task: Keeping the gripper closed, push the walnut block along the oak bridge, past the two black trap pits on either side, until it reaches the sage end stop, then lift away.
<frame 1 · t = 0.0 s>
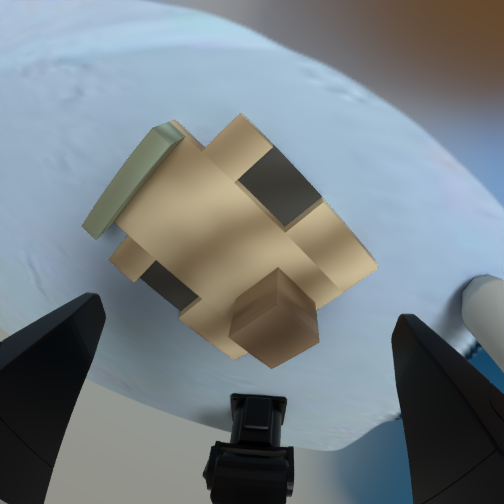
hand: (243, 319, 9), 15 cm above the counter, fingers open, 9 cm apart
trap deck: (232, 252, 25), on the counter
walnut block: (275, 300, 25), point 1 cm above the counter, touching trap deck
salt shaker: (476, 290, 25), on the counter
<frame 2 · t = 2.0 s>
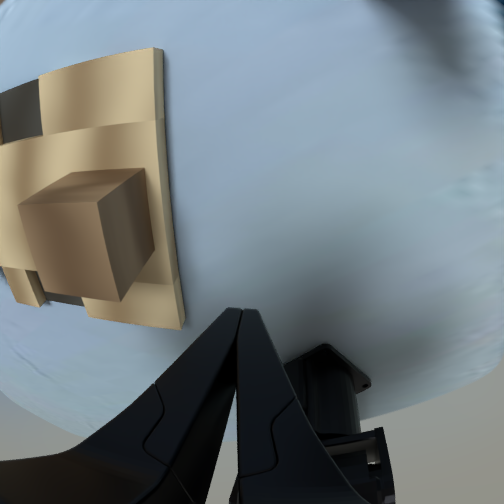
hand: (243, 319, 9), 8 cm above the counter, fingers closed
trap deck: (55, 203, 17), on the counter
walnut block: (111, 210, 15), point 1 cm above the counter, touching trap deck
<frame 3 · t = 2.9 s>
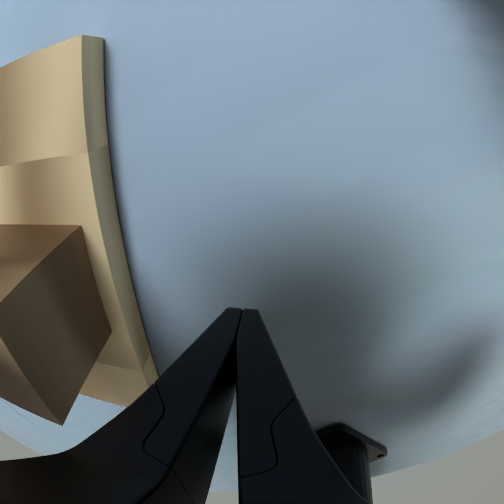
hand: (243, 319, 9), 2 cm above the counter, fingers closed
walnut block: (50, 278, 10), point 1 cm above the counter, touching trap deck
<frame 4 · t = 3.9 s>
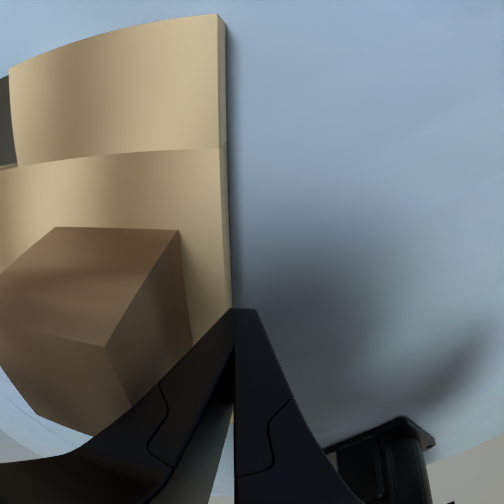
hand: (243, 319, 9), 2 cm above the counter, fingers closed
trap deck: (47, 262, 11), on the counter
walnut block: (122, 288, 10), point 1 cm above the counter, touching gripper
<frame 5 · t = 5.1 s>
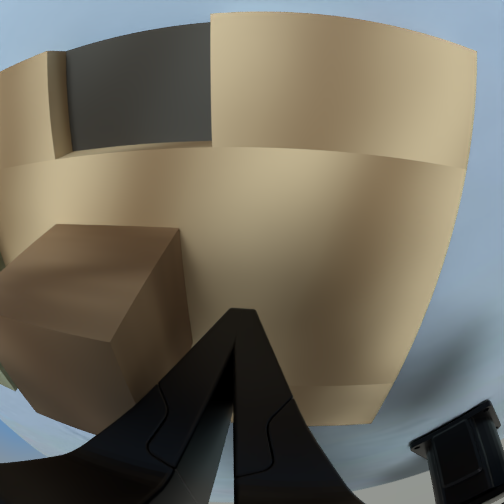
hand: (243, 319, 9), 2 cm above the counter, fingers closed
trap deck: (197, 271, 11), on the counter
walnut block: (123, 286, 10), point 1 cm above the counter, touching gripper, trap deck
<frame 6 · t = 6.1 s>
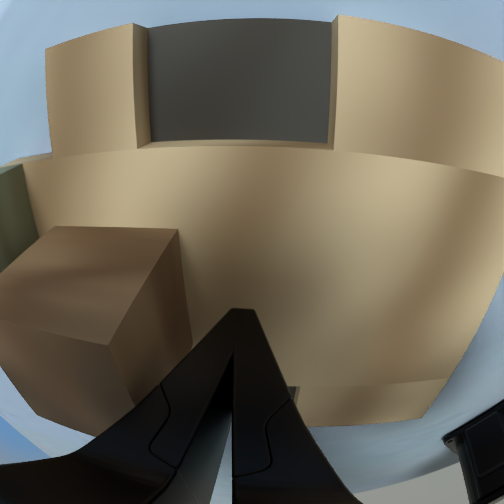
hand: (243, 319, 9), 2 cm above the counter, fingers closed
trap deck: (283, 276, 11), on the counter
walnut block: (122, 287, 10), point 1 cm above the counter, touching gripper, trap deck
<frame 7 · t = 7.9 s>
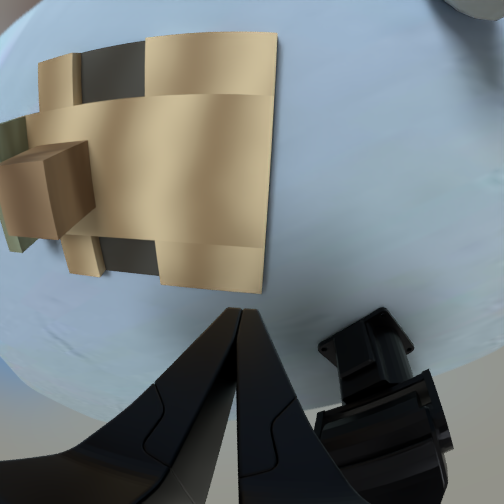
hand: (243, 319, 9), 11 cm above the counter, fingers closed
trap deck: (140, 167, 18), on the counter
walnut block: (64, 175, 18), point 1 cm above the counter, touching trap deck
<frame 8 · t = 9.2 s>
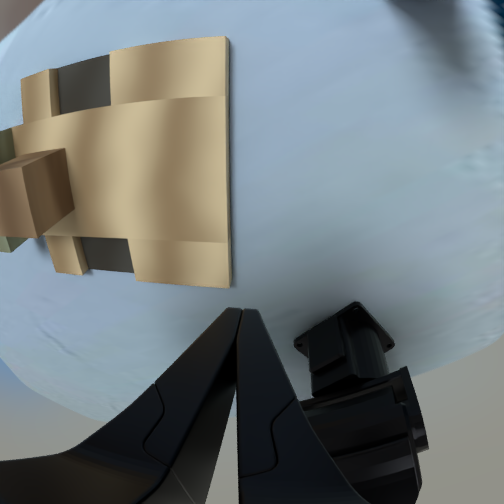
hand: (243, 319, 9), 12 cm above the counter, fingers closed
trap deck: (113, 170, 19), on the counter
walnut block: (47, 180, 19), point 1 cm above the counter, touching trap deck
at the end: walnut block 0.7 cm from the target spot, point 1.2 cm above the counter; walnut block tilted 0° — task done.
